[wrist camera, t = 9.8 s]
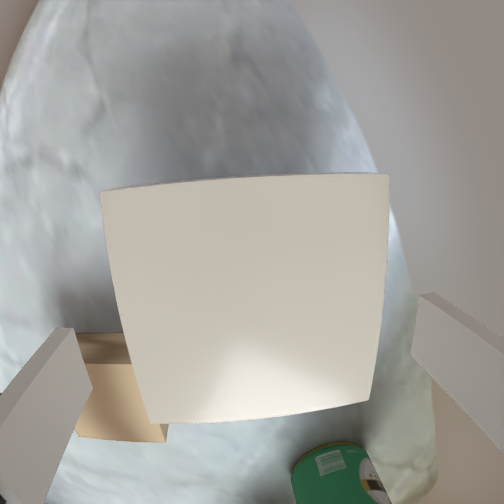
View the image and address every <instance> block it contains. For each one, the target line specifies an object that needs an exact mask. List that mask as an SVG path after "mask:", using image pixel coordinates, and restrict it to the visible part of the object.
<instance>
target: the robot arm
mask: <svg viewBox="0 0 504 504" xmlns="http://www.w3.org/2000/svg"><path fill="white" fill-rule="evenodd" d="M410 355H411V356H412V357H413V358H414V359H415V360H416V361H417V362H418V363H419V364H420V365H421V366H422V367H423V368H424V369H425V370H426V371H427V372H428V373H429V374H430V375H431V376H432V378H433V379H434V380H435V381H436V382H437V383H438V384H439V385H440V386H441V387H442V388H443V389H444V390H445V391H446V392H447V393H448V394H449V395H450V396H451V397H452V398H453V399H454V400H455V401H456V402H457V404H459V406H460V407H461V408H462V409H463V410H464V411H465V412H466V413H467V414H468V415H469V416H470V417H471V418H472V419H473V421H474V422H475V423H476V424H477V425H478V426H479V427H480V428H481V429H482V430H483V431H484V433H485V434H487V436H488V437H489V438H490V439H491V440H492V441H493V442H494V443H495V444H496V446H497V447H498V448H499V449H500V450H501V451H502V452H503V454H504V338H503V337H502V336H500V335H499V334H497V333H496V332H495V331H493V330H492V329H490V328H489V327H487V326H486V325H484V324H483V323H481V322H479V321H478V320H476V319H475V318H473V317H472V316H470V315H469V314H467V313H466V312H464V311H463V310H461V309H459V308H458V307H456V306H455V305H453V304H452V303H450V302H448V301H447V300H445V299H444V298H442V297H440V296H439V295H437V294H435V293H428V294H423V295H419V303H418V310H417V317H416V323H415V329H414V335H413V341H412V346H411V352H410ZM92 389H93V387H92V384H91V381H90V378H89V375H88V373H87V370H86V367H85V364H84V361H83V358H82V355H81V351H80V348H79V345H78V342H77V338H76V335H75V331H74V328H56V329H55V330H54V331H53V333H52V334H51V335H50V336H49V337H48V338H47V339H46V341H45V342H44V343H43V344H42V345H41V346H40V348H39V349H38V350H37V351H36V352H35V353H34V355H33V356H32V357H31V358H30V359H29V361H28V362H27V363H26V364H25V365H24V367H23V368H22V369H21V370H20V371H19V373H18V374H17V375H16V376H15V378H14V379H13V380H12V381H11V383H10V384H9V385H8V386H7V388H6V389H5V390H4V392H3V393H0V504H5V503H6V502H7V503H8V504H44V501H45V499H46V496H47V493H48V491H49V488H50V486H51V483H52V481H53V478H54V475H55V473H56V470H57V468H58V466H59V463H60V461H61V458H62V456H63V454H64V451H65V449H66V446H67V444H68V442H69V440H70V437H71V435H72V433H73V430H74V428H75V426H76V424H77V422H78V419H79V417H80V415H81V413H82V411H83V408H84V406H85V404H86V402H87V400H88V398H89V396H90V394H91V391H92Z"/></svg>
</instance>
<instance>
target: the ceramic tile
mask: <svg viewBox="0 0 504 504" xmlns="http://www.w3.org/2000/svg"><path fill="white" fill-rule="evenodd" d="M100 201H101V209H102V218H103V225H104V233H105V240H106V246H107V253H108V259H109V265H110V270H111V276H112V281H113V286H114V291H115V296H116V301H117V306H118V310H119V315H120V319H121V324H122V328H123V332H124V336H125V340H126V344H127V348H128V352H129V355H130V359H131V363H132V366H133V370H134V373H135V377H136V380H137V384H138V387H139V390H140V393H141V397H142V400H143V403H144V406H145V409H146V412H147V415H148V418H149V421H150V424H190V423H214V422H229V421H242V420H253V419H262V418H271V417H279V416H286V415H293V414H300V413H306V412H313V411H318V410H324V409H329V408H335V407H340V406H345V405H349V404H354V403H359V402H363V401H367V400H369V397H370V392H371V386H372V381H373V375H374V369H375V363H376V357H377V351H378V344H379V337H380V329H381V321H382V312H383V303H384V293H385V282H386V269H387V254H388V233H389V174H380V173H368V172H344V173H295V174H270V175H251V176H235V177H220V178H207V179H195V180H184V181H174V182H164V183H155V184H146V185H137V186H129V187H121V188H115V189H110V190H106V191H102V192H100Z"/></svg>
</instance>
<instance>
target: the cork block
mask: <svg viewBox="0 0 504 504" xmlns="http://www.w3.org/2000/svg"><path fill="white" fill-rule="evenodd" d="M75 335H76V338H77V342H78V345H79V348H80V351H81V355H82V358H83V361H84V364H85V367H86V370H87V373H88V375H89V378H90V381H91V384H92V387H93V389H92V391H91V394H90V396H89V398H88V400H87V402H86V404H85V406H84V408H83V411H82V413H81V415H80V417H79V419H78V422H77V424H76V426H75V428H74V429H75V431H76V433H77V435H78V437H85V438H94V439H104V440H116V441H131V442H156V443H166V437H167V431H168V424H150V421H149V418H148V415H147V412H146V409H145V406H144V403H143V400H142V397H141V393H140V390H139V387H138V384H137V380H136V377H135V373H134V370H133V366H132V363H131V359H130V355H129V352H128V348H127V344H126V340H125V336H124V333H75Z"/></svg>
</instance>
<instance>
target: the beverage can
mask: <svg viewBox="0 0 504 504" xmlns="http://www.w3.org/2000/svg"><path fill="white" fill-rule="evenodd" d="M291 482H292V486H293V491H294V495H295V499H296V503H297V504H392V503H391V501H390V499H389V497H388V495H387V493H386V490H385V488H384V486H383V484H382V482H381V480H380V478H379V476H378V474H377V472H376V470H375V468H374V466H373V464H372V462H371V460H370V458H369V456H368V454H367V452H366V451H365V450H364V449H362V448H359V447H358V446H357V445H356V444H353V443H350V442H334V443H330V444H326V445H323V446H320V447H317V448H315V449H313V450H311V451H310V452H308V453H306V454H305V455H304V456H302V457H301V458H300V459H299V460H298V461H297V463H296V464H295V467H294V471H293V473H292V476H291Z"/></svg>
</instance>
